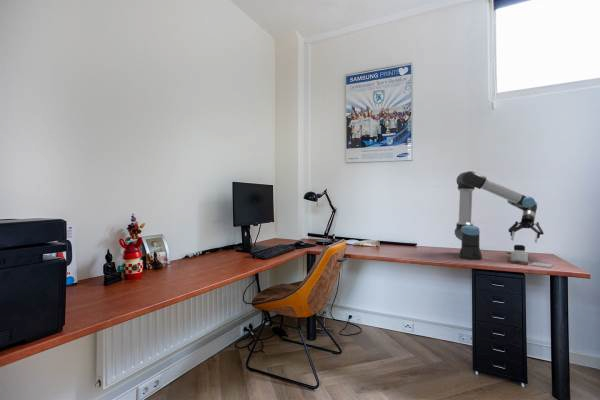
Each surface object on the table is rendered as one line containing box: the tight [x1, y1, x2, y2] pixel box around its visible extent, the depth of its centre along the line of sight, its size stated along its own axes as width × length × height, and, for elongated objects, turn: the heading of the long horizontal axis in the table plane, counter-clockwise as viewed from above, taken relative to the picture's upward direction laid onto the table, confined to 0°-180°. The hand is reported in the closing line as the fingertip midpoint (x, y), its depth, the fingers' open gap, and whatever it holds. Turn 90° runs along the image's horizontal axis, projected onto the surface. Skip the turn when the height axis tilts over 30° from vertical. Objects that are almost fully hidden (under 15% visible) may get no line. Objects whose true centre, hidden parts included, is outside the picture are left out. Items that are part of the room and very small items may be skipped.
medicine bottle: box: [510, 244, 529, 263], centre depth 203 cm, size 7×7×12 cm
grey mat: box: [530, 262, 554, 269], centre depth 194 cm, size 10×10×1 cm
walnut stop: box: [507, 259, 529, 266], centre depth 200 cm, size 11×1×2 cm, turn 42°
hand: (523, 240), depth 210 cm, fingers open, 13 cm apart
